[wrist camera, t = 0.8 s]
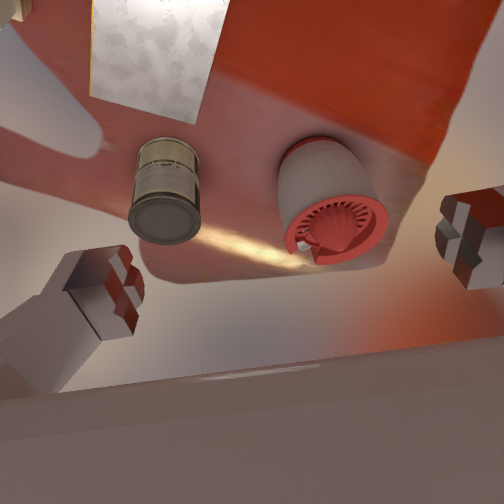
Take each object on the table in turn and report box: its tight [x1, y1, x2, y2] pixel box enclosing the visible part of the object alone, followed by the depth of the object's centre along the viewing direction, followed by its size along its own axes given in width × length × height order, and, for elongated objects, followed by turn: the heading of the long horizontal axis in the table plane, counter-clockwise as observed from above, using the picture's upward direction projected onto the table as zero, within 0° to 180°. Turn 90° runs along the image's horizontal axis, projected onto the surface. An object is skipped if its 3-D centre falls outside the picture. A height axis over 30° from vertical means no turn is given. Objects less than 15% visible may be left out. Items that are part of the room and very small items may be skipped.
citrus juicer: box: [277, 137, 389, 265], centre depth 57 cm, size 16×17×20 cm
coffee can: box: [128, 137, 201, 245], centre depth 55 cm, size 10×10×14 cm
